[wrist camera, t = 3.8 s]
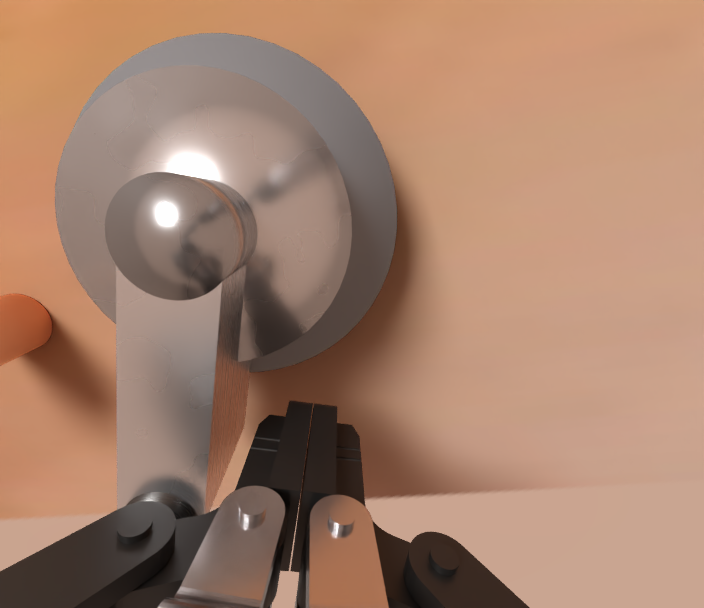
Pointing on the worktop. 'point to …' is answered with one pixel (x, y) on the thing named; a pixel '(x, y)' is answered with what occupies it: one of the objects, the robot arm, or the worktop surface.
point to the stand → (343, 142)
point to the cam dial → (197, 259)
